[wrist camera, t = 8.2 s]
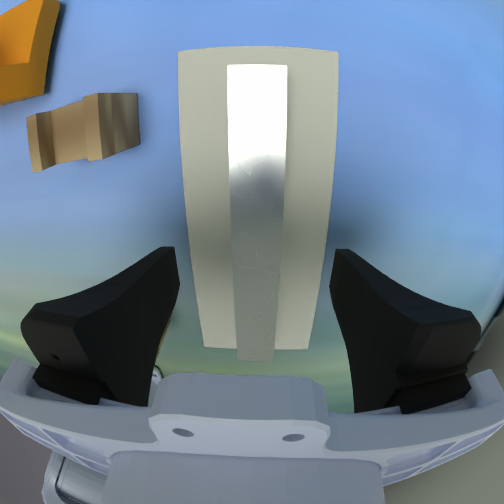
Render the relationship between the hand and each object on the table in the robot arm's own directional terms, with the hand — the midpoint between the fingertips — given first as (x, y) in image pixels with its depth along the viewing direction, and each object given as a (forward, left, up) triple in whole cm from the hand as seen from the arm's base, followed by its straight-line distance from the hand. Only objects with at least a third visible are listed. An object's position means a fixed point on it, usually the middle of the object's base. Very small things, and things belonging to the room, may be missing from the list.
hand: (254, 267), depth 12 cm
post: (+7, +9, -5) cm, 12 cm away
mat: (0, 0, -5) cm, 5 cm away
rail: (0, 0, -4) cm, 4 cm away
